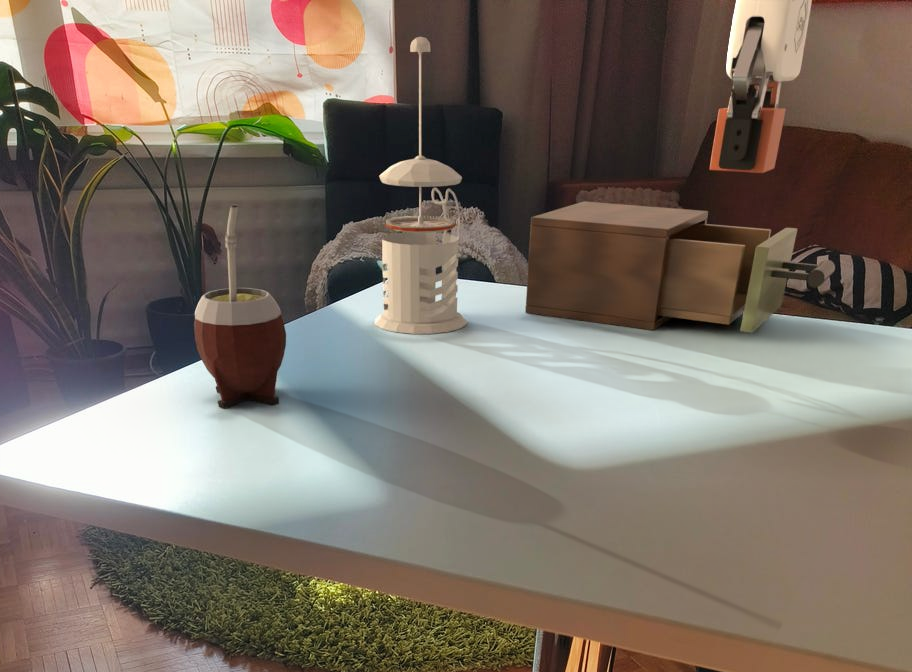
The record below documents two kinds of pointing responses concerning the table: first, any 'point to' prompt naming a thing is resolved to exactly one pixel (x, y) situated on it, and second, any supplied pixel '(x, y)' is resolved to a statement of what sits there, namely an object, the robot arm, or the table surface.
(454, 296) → the french press
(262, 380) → the mate gourd
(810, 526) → the table surface
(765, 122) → the block
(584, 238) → the cabinet
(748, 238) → the drawer
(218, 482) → the table surface
